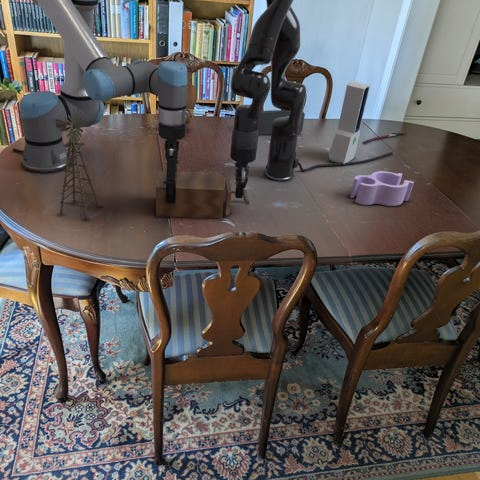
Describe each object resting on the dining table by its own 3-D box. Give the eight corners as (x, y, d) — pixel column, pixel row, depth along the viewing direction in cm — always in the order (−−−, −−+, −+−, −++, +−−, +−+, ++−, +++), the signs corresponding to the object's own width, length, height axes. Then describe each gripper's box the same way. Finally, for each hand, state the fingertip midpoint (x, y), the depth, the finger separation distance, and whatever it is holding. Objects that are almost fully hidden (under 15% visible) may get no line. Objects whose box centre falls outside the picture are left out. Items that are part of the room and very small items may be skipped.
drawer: (245, 200, 149) (248, 178, 145) (248, 215, 141) (251, 193, 137) (168, 197, 146) (168, 174, 142) (167, 213, 138) (167, 189, 133)
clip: (362, 208, 153) (367, 189, 149) (343, 191, 163) (348, 173, 159) (412, 204, 159) (418, 185, 156) (392, 187, 169) (397, 170, 165)
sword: (401, 132, 223) (402, 129, 222) (407, 134, 221) (407, 131, 220) (358, 143, 207) (358, 140, 206) (363, 145, 205) (364, 143, 204)
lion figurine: (191, 127, 202) (192, 107, 197) (195, 131, 198) (195, 111, 193) (158, 128, 197) (158, 107, 192) (160, 133, 193) (160, 111, 188)
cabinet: (220, 200, 149) (222, 173, 144) (222, 218, 140) (224, 190, 134) (158, 198, 146) (157, 170, 141) (156, 216, 137) (155, 187, 132)
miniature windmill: (85, 220, 131) (75, 116, 115) (58, 214, 132) (43, 110, 116) (100, 205, 139) (92, 105, 123) (74, 200, 140) (62, 101, 124)
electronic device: (344, 166, 181) (362, 88, 165) (326, 160, 185) (342, 83, 168) (355, 157, 191) (373, 82, 174) (338, 152, 194) (354, 78, 177)
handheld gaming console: (299, 131, 211) (303, 109, 205) (302, 133, 208) (305, 111, 203) (251, 133, 203) (254, 110, 198) (254, 135, 201) (256, 112, 196)
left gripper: (185, 138, 119) (183, 213, 130) (186, 109, 138) (184, 176, 150) (155, 137, 118) (156, 212, 129) (160, 108, 137) (160, 175, 149)
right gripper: (260, 152, 128) (253, 208, 137) (254, 135, 139) (248, 188, 148) (233, 151, 127) (227, 207, 136) (229, 134, 138) (224, 187, 147)
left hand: (171, 193), depth 140 cm, fingers closed on cabinet, 11 cm apart
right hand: (238, 197), depth 142 cm, fingers closed
